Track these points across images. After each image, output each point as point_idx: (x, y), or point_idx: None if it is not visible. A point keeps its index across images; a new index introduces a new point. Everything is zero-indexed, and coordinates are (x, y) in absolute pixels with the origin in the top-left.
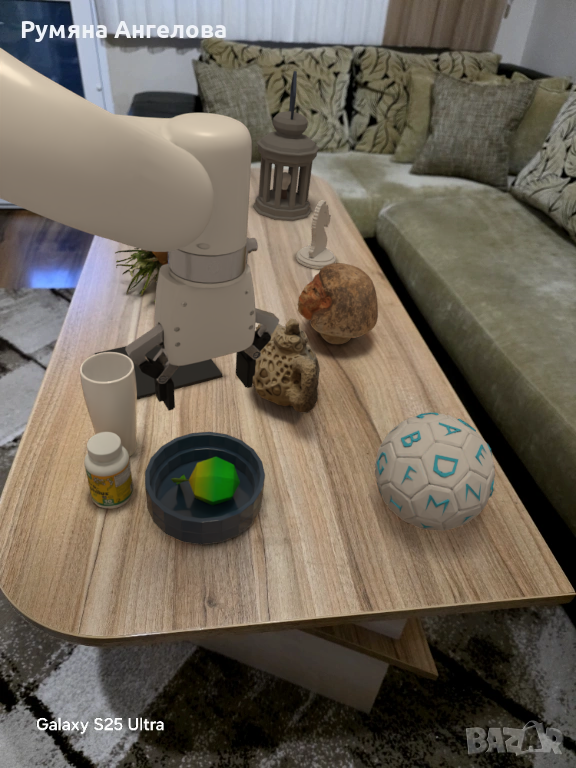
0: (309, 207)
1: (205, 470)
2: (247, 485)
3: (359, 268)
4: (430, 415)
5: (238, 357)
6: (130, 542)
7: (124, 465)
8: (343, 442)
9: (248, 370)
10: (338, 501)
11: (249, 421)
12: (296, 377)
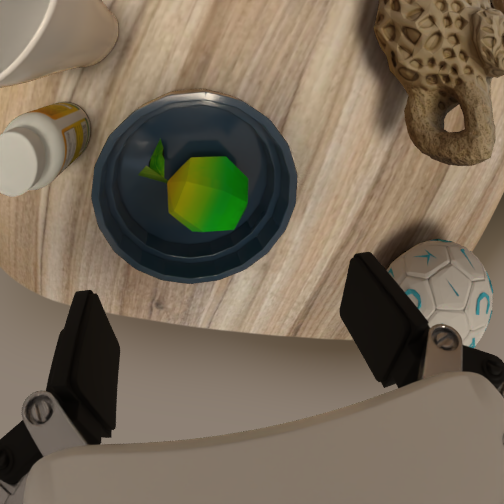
0: None
1: (193, 208)
2: (260, 181)
3: None
4: (483, 308)
5: (388, 322)
6: (80, 217)
7: (55, 176)
8: (414, 159)
9: (369, 361)
10: (349, 238)
11: (330, 51)
12: (450, 93)
